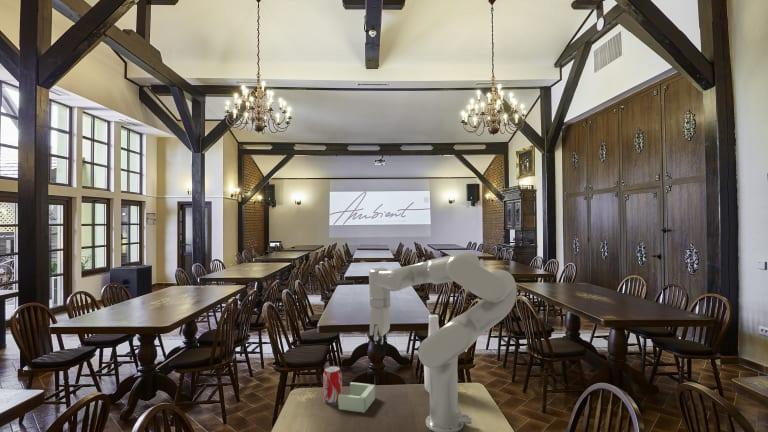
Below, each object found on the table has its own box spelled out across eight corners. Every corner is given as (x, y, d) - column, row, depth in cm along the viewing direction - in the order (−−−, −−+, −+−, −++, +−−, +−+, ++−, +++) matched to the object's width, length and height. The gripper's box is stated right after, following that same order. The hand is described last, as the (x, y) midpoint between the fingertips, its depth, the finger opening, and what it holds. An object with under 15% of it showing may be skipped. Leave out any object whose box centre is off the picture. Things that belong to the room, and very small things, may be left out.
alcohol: (446, 385, 170) (444, 312, 169) (447, 394, 161) (445, 318, 161) (424, 385, 170) (422, 313, 170) (424, 394, 162) (422, 318, 162)
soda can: (339, 405, 151) (338, 372, 151) (321, 404, 153) (320, 371, 153) (344, 396, 158) (343, 365, 158) (327, 395, 160) (326, 364, 160)
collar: (375, 397, 157) (375, 384, 157) (364, 412, 145) (364, 398, 145) (351, 395, 160) (351, 382, 160) (338, 409, 148) (338, 395, 148)
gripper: (377, 297, 158) (379, 345, 158) (362, 307, 143) (364, 360, 143) (396, 298, 156) (397, 346, 156) (382, 308, 140) (384, 361, 140)
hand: (381, 352), depth 149 cm, fingers open, 2 cm apart
